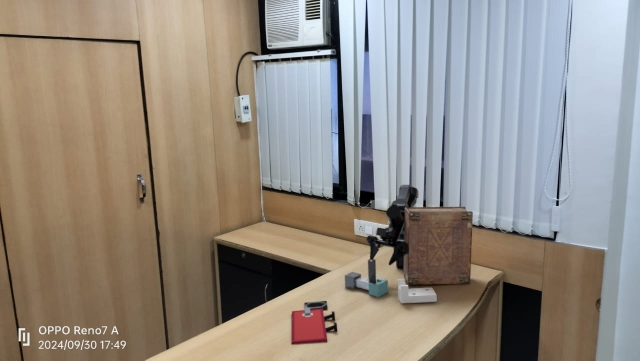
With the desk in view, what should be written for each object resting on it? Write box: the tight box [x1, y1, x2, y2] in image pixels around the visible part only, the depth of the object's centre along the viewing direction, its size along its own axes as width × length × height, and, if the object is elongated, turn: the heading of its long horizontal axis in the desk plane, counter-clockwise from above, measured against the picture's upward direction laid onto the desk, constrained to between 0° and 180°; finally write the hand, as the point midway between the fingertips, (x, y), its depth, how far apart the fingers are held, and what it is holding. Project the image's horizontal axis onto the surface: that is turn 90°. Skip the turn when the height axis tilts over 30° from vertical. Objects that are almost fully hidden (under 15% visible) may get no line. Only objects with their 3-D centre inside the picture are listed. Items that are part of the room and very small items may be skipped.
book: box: [403, 206, 474, 286], centre depth 192 cm, size 25×9×30 cm, turn 91°
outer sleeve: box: [344, 271, 362, 290], centre depth 193 cm, size 4×5×5 cm
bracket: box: [397, 278, 438, 304], centre depth 176 cm, size 13×7×8 cm, turn 91°
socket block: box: [368, 278, 389, 298], centre depth 185 cm, size 4×6×5 cm
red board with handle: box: [291, 300, 338, 345], centre depth 163 cm, size 30×3×15 cm
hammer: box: [355, 258, 380, 291], centre depth 188 cm, size 12×3×12 cm, turn 48°
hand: (379, 262), depth 189 cm, fingers open, 9 cm apart
